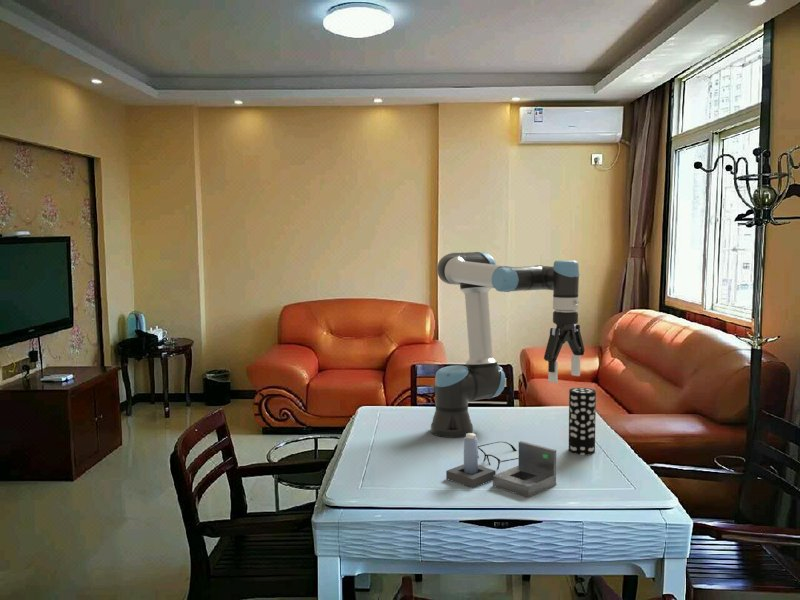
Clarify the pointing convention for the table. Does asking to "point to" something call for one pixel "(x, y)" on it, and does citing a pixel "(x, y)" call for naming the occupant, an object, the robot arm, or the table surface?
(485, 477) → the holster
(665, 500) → the table surface
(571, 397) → the white-spotted black cylinder
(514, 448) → the eyeglasses
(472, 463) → the plug
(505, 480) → the port
